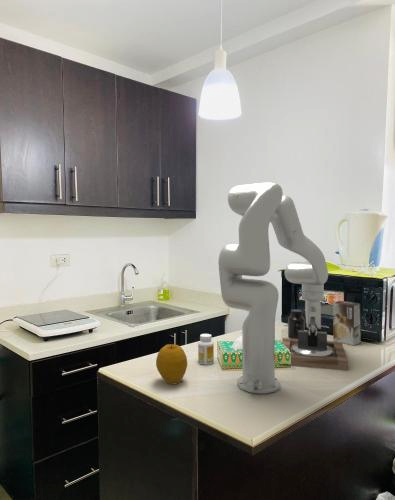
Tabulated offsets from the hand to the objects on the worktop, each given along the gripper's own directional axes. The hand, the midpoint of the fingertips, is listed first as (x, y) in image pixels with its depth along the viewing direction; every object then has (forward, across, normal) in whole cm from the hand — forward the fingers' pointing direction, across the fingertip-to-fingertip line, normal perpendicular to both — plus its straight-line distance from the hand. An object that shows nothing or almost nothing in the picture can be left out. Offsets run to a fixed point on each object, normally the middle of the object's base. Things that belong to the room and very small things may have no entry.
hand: (312, 342), depth 138 cm
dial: (+4, 0, 0) cm, 4 cm away
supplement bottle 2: (+5, +22, +6) cm, 23 cm away
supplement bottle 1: (+5, -15, +36) cm, 39 cm away
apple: (+5, -34, +42) cm, 54 cm away
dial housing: (+5, 0, 0) cm, 5 cm away
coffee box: (+6, +22, -14) cm, 27 cm away
